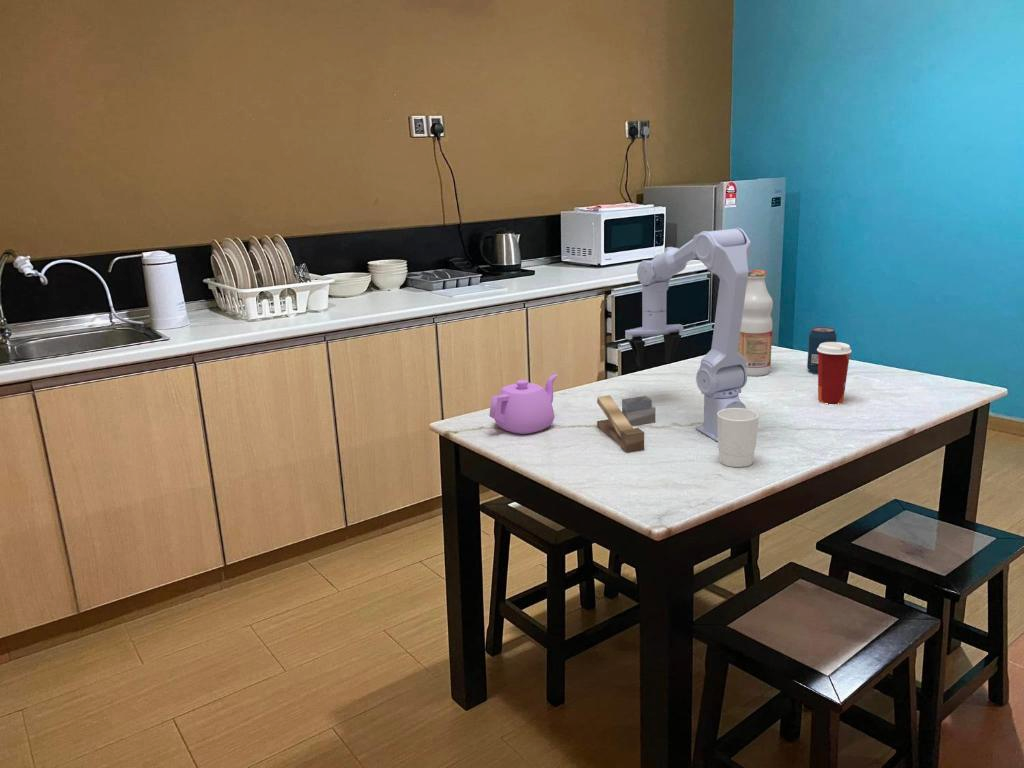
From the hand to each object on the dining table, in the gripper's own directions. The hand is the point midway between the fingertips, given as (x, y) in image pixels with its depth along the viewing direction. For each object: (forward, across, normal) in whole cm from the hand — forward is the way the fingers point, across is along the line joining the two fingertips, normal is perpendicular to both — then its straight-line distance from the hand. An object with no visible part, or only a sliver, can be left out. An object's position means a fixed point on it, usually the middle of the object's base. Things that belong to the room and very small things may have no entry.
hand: (654, 364), depth 193 cm
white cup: (+10, +2, +41) cm, 42 cm away
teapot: (+10, +34, +3) cm, 36 cm away
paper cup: (+10, -39, +16) cm, 43 cm away
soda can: (+10, -53, -6) cm, 54 cm away
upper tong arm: (+6, +18, +18) cm, 26 cm away
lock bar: (+6, +10, +12) cm, 17 cm away
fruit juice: (+10, -37, -14) cm, 40 cm away
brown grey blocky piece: (+10, +13, +19) cm, 25 cm away
